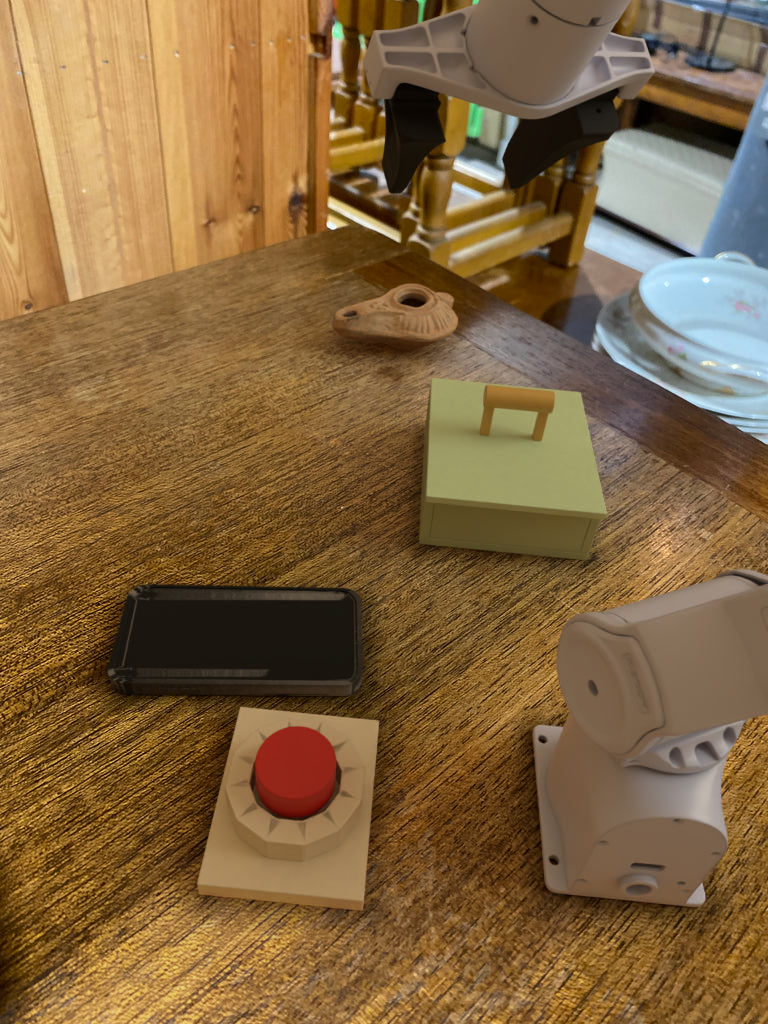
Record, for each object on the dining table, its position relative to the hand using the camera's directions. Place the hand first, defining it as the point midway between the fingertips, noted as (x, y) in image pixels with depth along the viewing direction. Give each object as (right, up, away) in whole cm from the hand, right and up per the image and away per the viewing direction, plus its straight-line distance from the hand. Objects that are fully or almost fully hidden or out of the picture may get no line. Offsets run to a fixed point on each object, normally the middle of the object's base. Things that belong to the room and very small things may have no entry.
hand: (452, 175), depth 45 cm
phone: (-13, -28, +4) cm, 31 cm away
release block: (-9, -35, -4) cm, 36 cm away
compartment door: (+6, -14, +14) cm, 21 cm away
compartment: (+5, -18, +17) cm, 25 cm away
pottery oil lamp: (-3, -2, +34) cm, 34 cm away
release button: (-8, -33, -5) cm, 35 cm away
